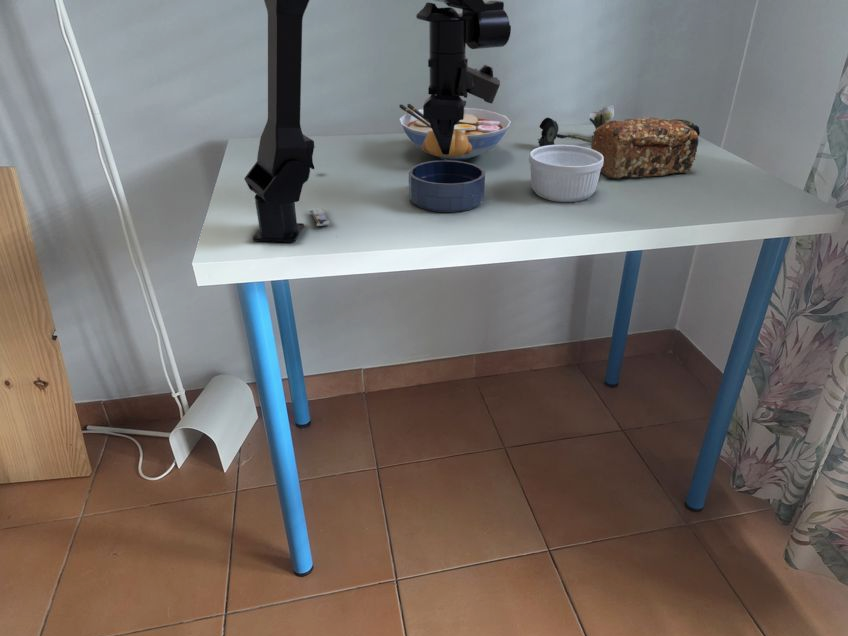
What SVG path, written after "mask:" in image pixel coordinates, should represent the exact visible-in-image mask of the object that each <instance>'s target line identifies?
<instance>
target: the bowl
mask: <svg viewBox="0 0 848 636" xmlns="http://www.w3.org/2000/svg"><path fill="white" fill-rule="evenodd" d="M485 185H486V171H485V170H484V169H483V168H482V167H481V166H479V165H477V164H474V163H470V162H466V161H449V160H444V159H441V160H431V161H425V162H420V163H418V164H414V165H413V166H412V167H410V168H409V170H408V198H409V200H410V201H411V202H412V203H414V205H415V206H416V207H419V208H421V209H423V210H426V211H431V212H438V213H459V212H465V211H470V210H473V209H474V208H477V207H479V205H481V204H482V203H483V202H484V201H485Z"/></svg>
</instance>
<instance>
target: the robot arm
mask: <svg viewBox="0 0 848 636" xmlns="http://www.w3.org/2000/svg"><path fill="white" fill-rule="evenodd" d="M263 1H264V5H265V8H266V11H267V119H266V123H265V126H264V128H263V131H262V133H261V136H260V139H259V145H258V151H257V157H256V162H255V163H254V164H253V166H252V167H251V168H250V170H249V171H248V172H247V174H246V175H245V177H244V181H245V183H246V185H247V187H248V189H249V190H250V191H251V192H253V193H254V194H255V195H254V202H255V208H256V215H257V222H258V227H259V228H258V229H257V231H256V232H255V233H254V234H253V236H252V241H254V242H276V243H295V242H296V241H297V239H299V237H300V234H301V233H302V232H303V230H304V228H305V224H304V223H303V222H298V221H297V211H296V204H295V203H298V202H300V198H301V195H302V191H303V187H304V184H305V183H307V182H308V180H309V178H310V174H311V170H315V164H314V161H313V160H314V159H313V156H314V150H315V141H314V140H313V139H311V138H309V137H308V136H307V135H305V134H304V133H303V130H302V127H301V107H302V106H301V102H302V101H301V98H302V60H303V59H302V56H303V55H302V54H303V53H302V51H303V19H304V16H305V13H306V10H307V7H308V5H309V3H310V0H263ZM434 1H435V2H440V3H444V4H445V6H447V7H437V5H436V4H435V3H433V2H426V3H425V5H424V7H422V9H421V10H419V12H418V13H417V14H416V15H415V17H416V19H417V20H420V21H424V22H428V23H429V25H428V26H429V31H428V32H429V34H428V37H429V41H428V42H429V45H428V46H429V48H428V49H429V51H428V52H429V54H428V55H429V58H428V59H427V67H428V68H429V84H428V85H429V86H428V89H427V91H428V93H427V94H428V95H430V96H428V97H427V98H426V99H425V101H424V103H423V105H422V109H423V118H425V119H428V121H429V123H430V125H431V128H432V130H433V132H434V135H435V137H436V139H437V142H438V144H439V147H440V149H441V152H442V154H449V151H450V146H451V141H452V136H453V131H454V126H455V124H456V123H457V122H459V121H460V120H463V119H464V108H466V105H467V100H464V98H468V96H469V94H470V95H472V96H475V97H477V98H479V99H481V100H483V101H484V102H485V103H488V104H493V103H494V101H495V99H496V96H497V94H498V90H499V88H500V86H501V80H500V79H499V78H498V77H497V76H494V68H493V67H492V66H490V65H487V64H484V65H482V66H481V67H480V68H479V69H478V68H477V67H476V68H473V67H470V66H469V64H468V63H469V62H468V61H469V59H468V58H467V56H466V49H467V48H466V46H467V47H468V48H469V49H470V50H479V49H491V48H502V47H505V46H506V45H507V44H508V42H509V40H510V37H511V33H512V26H511V24H510V19H509V16H508V14H507V12H506V11H505V10H504V9H505V8H504V7H505V2H504V1H502V0H489V1H484V0H434ZM456 9H459V10H461V13H458V11H456ZM462 97H463V99H462Z"/></svg>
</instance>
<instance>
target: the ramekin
mask: <svg viewBox="0 0 848 636" xmlns="http://www.w3.org/2000/svg"><path fill="white" fill-rule="evenodd" d="M528 162H529V164H530V182H531V183H530V184H531V188H532V190H533V192H535V194H536V195H537V196H539V197H540V198H541V199H545V200H549V201H552V202H557V203H559V202H560V203H575V202H581V201H584V200H587V199H589V198H591V196H592V195H593V194H594V193H595V191H596V190H597V186H598V184H599V183H598V182H599V179H600V174H601V172H600V171H601V168H602V166H603V162H604V157H603V155H602V154H601V153H599V152H597V151H595V150H593V149H591V148H590V147H585V146H581V145H573V144H555V145H548V146H542V147H540V146H539V147H535V148H534V149H532V150H531V151H530V153H529V158H528Z"/></svg>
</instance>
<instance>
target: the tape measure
mask: <svg viewBox="0 0 848 636" xmlns="http://www.w3.org/2000/svg"><path fill="white" fill-rule="evenodd" d="M672 120H677V121H681V122H683V123H684V124H686V125H687V126H688V127H690V128H692V129H693V130H694V131H696V132H697V135H698V137H699V136H700V133H701V131H700V127H699V126H698V125H696V124H694V122H692V121H689V120H686V119H680V118H679V119H677V118H673V119H672Z"/></svg>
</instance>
